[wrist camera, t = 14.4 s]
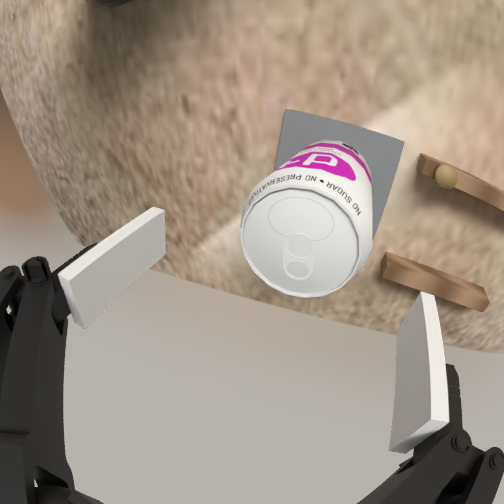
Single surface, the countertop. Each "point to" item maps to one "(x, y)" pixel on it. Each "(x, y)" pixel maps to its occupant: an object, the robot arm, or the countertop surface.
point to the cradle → (432, 278)
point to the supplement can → (310, 221)
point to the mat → (363, 140)
